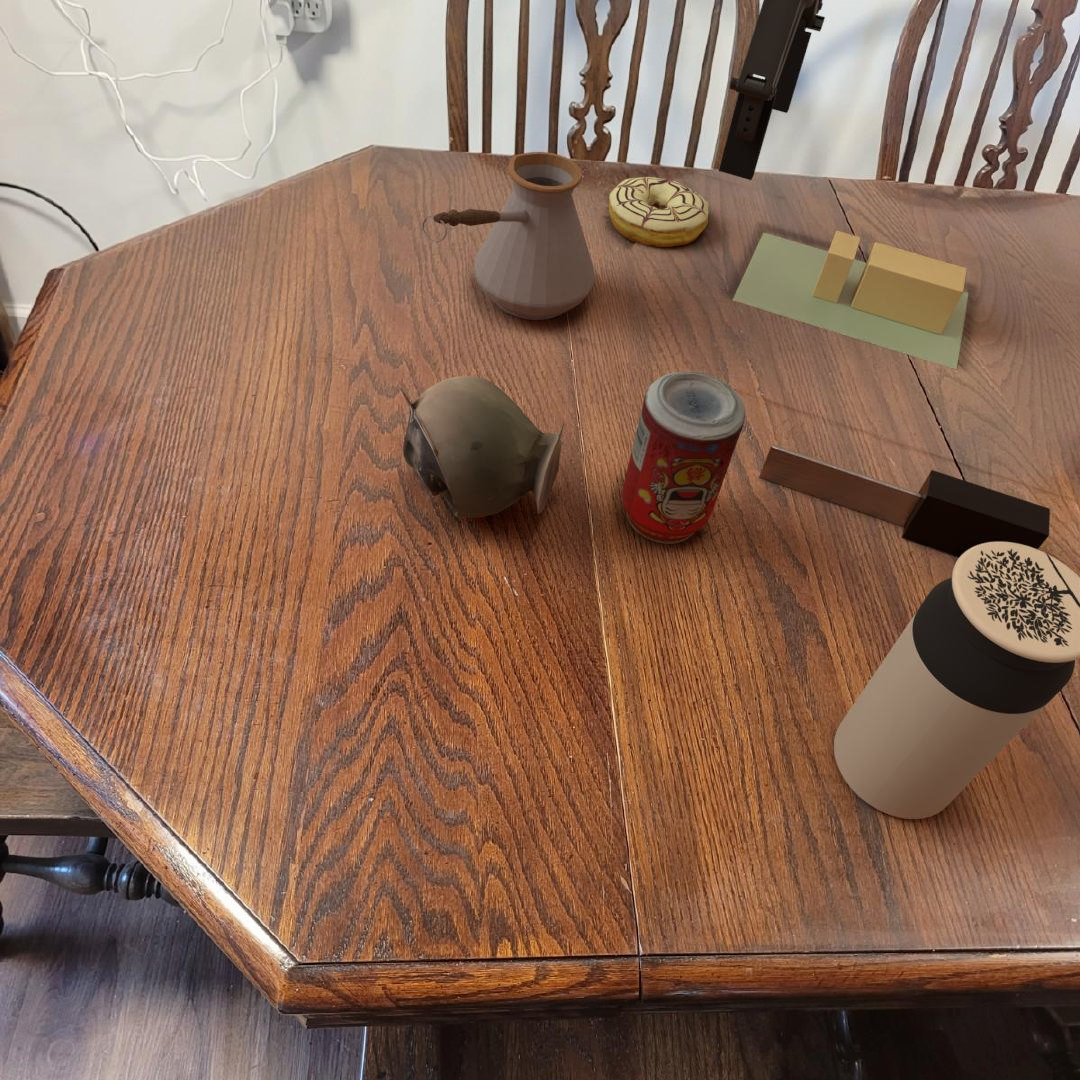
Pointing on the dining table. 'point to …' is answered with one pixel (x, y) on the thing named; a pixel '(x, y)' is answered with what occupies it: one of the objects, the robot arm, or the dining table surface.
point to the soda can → (680, 454)
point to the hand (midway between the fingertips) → (755, 139)
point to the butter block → (909, 288)
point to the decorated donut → (657, 211)
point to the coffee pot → (532, 240)
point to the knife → (917, 504)
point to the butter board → (788, 284)
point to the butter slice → (836, 266)
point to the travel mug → (962, 679)
